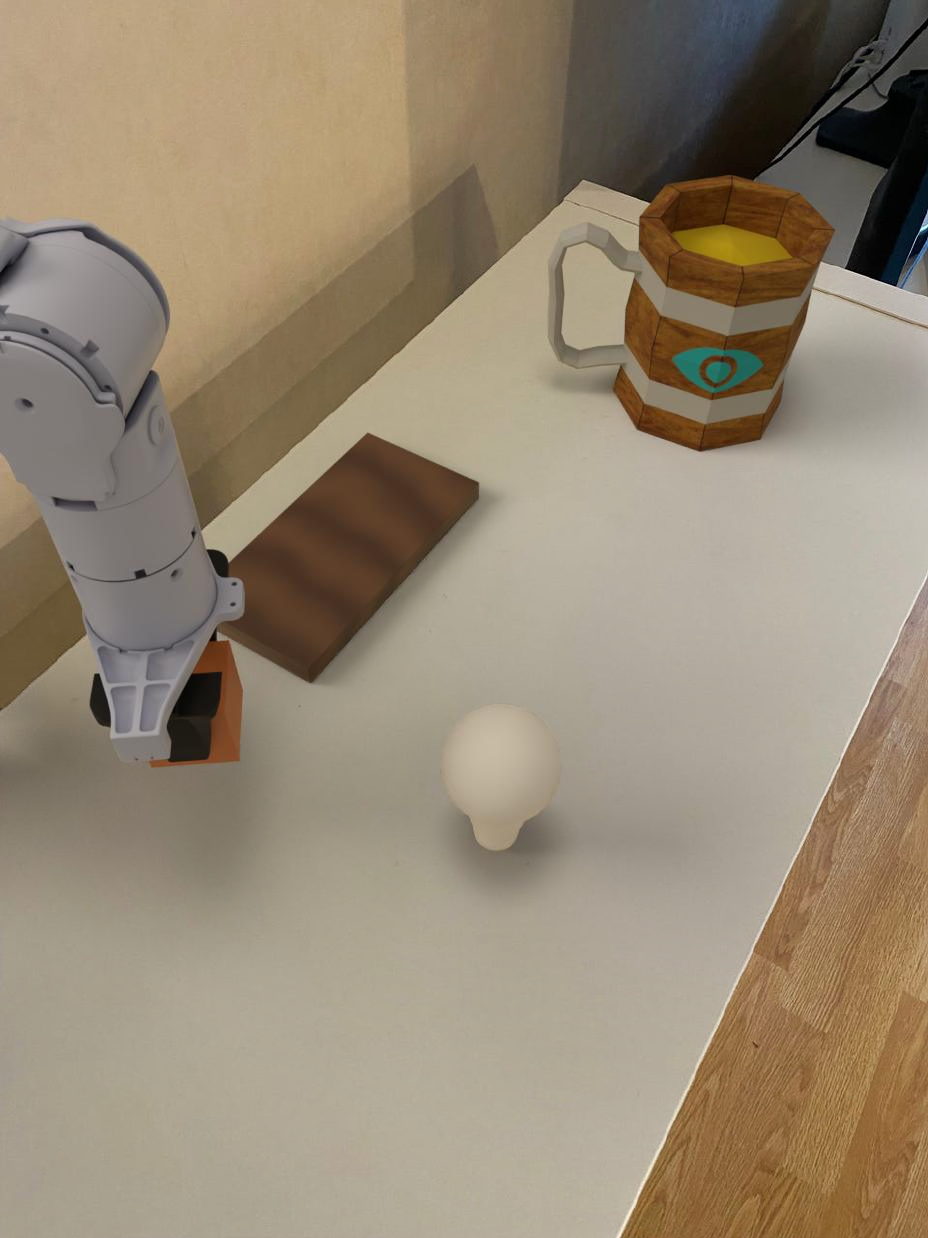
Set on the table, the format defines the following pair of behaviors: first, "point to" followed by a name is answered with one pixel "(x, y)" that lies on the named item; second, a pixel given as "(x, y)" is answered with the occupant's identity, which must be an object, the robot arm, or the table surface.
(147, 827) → the table surface
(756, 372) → the mug
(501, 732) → the lightbulb
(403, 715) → the table surface
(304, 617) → the board
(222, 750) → the block
